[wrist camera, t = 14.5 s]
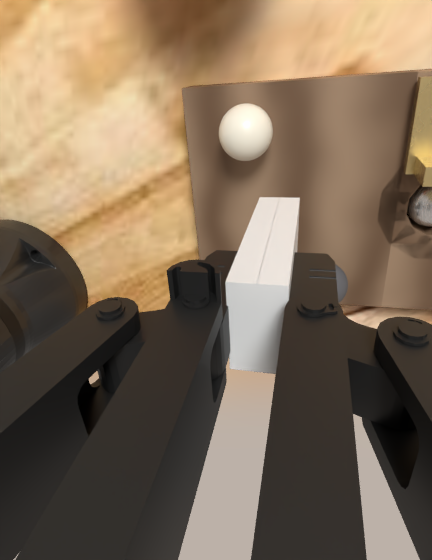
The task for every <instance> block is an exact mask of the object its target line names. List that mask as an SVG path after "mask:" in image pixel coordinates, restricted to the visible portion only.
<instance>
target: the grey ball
mask: <svg viewBox="0 0 432 560" xmlns="http://www.w3.org/2000/svg"><path fill="white" fill-rule="evenodd" d="M335 268H336V280H337V292H338V303H339V302H341V301H342V300H343V298H344V297H345V295H346V293H347V290H348V280H347V277H346V274H345V273H344V271H343V270H342V269H341V268H340V267H339V266H337V265H336V264H335Z"/></svg>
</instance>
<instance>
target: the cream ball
mask: <svg viewBox="0 0 432 560" xmlns="http://www.w3.org/2000/svg"><path fill="white" fill-rule="evenodd" d="M272 136H273V127H272V123H271V120H270V118H269V116H268V114H267V113H266V112H265V111H264V110H263V109H262V108H260V107H259V106H257V105H254V104H249V103H244V104H239V105H236V106H234V107H233V108H231V109H230V110H229V111H228V112H227V113H226V114H225V115H224V117H223V118H222V120H221V123H220V126H219V140H220V143H221V146H222V147H223V149H224V151H225V152H226V153H227V154H228V155H229V156H231V157H232V158H234V159H236V160H240V161H250V160H254V159H256V158H258V157H260V156H261V155H262V154H263V153H264V152H265V151H266V150H267V149H268V147H269V145H270V143H271V140H272Z"/></svg>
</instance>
